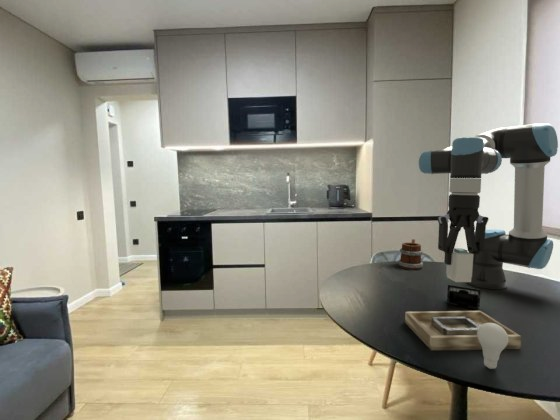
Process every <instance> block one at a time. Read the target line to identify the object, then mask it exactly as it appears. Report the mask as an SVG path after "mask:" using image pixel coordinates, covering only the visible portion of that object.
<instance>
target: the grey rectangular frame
mask: <svg viewBox="0 0 560 420" xmlns="http://www.w3.org/2000/svg"><path fill="white" fill-rule="evenodd" d="M431 323H432V326H433V327H434V328H435V329H436V330H438V331H439V332H440V333H441V334H442V335H445V336H450V335H477V331H478V328H479V327H480V325H478V324H477V323H475V322H474V321H472V320H471V319H470V318H466V317H465V316H460V317H432V322H431ZM444 325H466V326H467V327H469V328H446V327H445V326H444Z"/></svg>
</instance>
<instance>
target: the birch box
mask: <svg viewBox="0 0 560 420" xmlns="http://www.w3.org/2000/svg"><path fill="white" fill-rule="evenodd" d="M404 315H405V317H404V323H405V324H406V325H407V327H408V328H410V329H411V330H412V331H413V333H414V334H415V335H416V336H417V337H418V338H419V339H420V340H421V341H422V342H423V343H424V345H426V347H428V349H430V351H472V350H474V351H475V350H477V351H478V350H479V351H481V350H482V351H483V349H482V346H481V344H480V342H479V340H478V337H477V335H450V336H445V335H442V334H441V333H440V332H439V331H438V330H436V329H435V328H434V327H433V326H432V323H431V322H432V317H460V316H465V317H466V318H470V319H471V320H472V321H474V322H475V323H477V324H478V325H480V326H481V325H482V324H484V323H495V324H497V325H499V326H501V327H502V328H503V329H504V330H505V331H506V333H507V335H508V344H507V346H506V347H505V348H504V349H503V350H521V347H522V335H520V334H518V333H517V332H515V331H514V330H513V329H511V328H509V327H508V326H506V325H504V324H503V323H501V322H500V321H498V320H497V319H494V318H493V317H492V316H489V315H488V314H487V313H485V312H483V310H478V311H468V310H441V311H439V310H438V311H437V310H436V311H435V310H434V311H433V310H429V311H405V314H404ZM444 326H445V327H446V328H469V327H467V326H466V325H444Z"/></svg>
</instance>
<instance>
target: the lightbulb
mask: <svg viewBox="0 0 560 420" xmlns="http://www.w3.org/2000/svg"><path fill="white" fill-rule="evenodd" d="M477 337H478V340H479V342H480V344H481V346H482V349H483V350H482V355H483V364H484V366H485V367H487V368H488V369H489V370H493V369H497V367H498V361H499V359H500V356H501V353H502V351H503V350H505V349H504V348H505V347H506V346H507V344H508V335H507V333H506V331H505V330H504V329H503V328H502V327H501V326H499V325H497V324H495V323H484V324H482V325H481V326H480V327H479V328H478V331H477Z"/></svg>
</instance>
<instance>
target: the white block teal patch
mask: <svg viewBox="0 0 560 420" xmlns="http://www.w3.org/2000/svg"><path fill="white" fill-rule="evenodd" d="M453 254H456V256H455V271H454V277H450V276H449V275H447V274H446V278H447V279H450V280H452V282H454V283H466V282H471V276H472V262H473V254H472V253H469V252H468V249H465V248H457V247H456V248H455V247H454V251H453Z"/></svg>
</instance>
